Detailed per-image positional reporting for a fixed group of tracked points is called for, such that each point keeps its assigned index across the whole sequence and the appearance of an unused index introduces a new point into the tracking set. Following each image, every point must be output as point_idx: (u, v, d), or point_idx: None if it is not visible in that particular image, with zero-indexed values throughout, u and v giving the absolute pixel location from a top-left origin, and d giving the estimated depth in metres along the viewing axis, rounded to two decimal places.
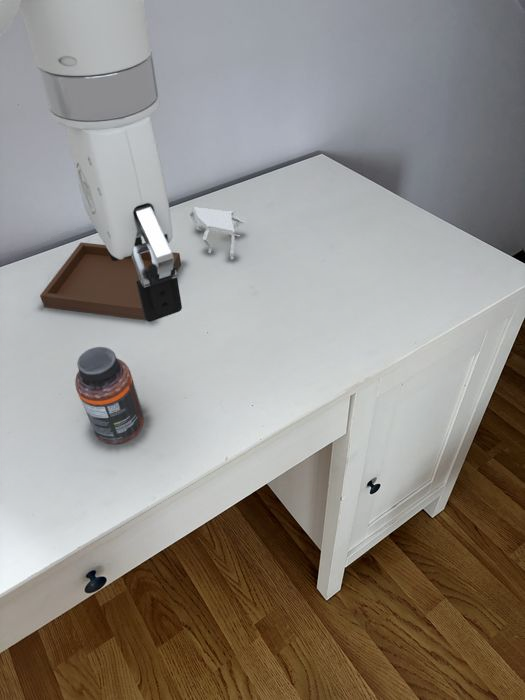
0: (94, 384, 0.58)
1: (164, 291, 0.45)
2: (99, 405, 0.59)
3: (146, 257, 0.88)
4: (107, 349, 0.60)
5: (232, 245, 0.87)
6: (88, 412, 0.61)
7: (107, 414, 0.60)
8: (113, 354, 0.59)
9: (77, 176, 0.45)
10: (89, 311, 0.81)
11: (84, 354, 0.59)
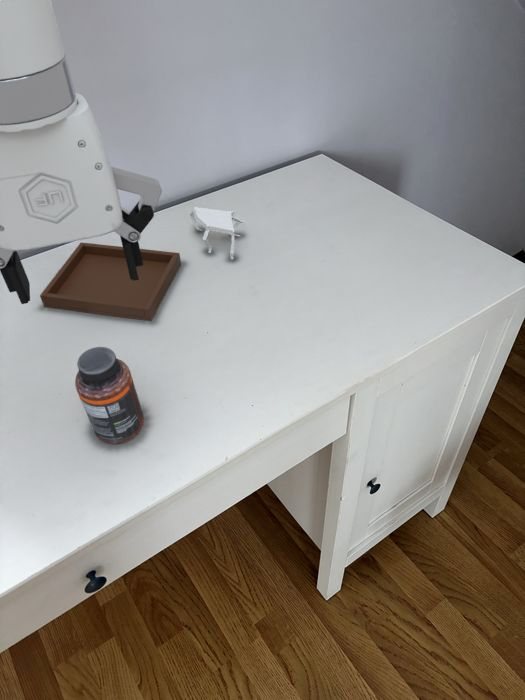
0: (94, 384, 0.58)
1: None
2: (99, 405, 0.59)
3: (146, 257, 0.88)
4: (107, 349, 0.60)
5: (232, 245, 0.87)
6: (88, 412, 0.61)
7: (107, 414, 0.60)
8: (113, 354, 0.59)
9: (3, 213, 0.42)
10: (89, 311, 0.81)
11: (84, 354, 0.59)
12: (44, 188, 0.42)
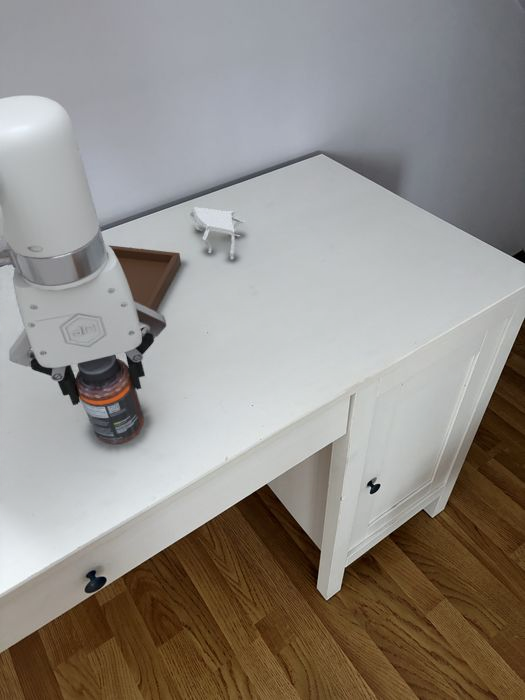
0: (94, 384, 0.58)
1: None
2: (99, 405, 0.59)
3: (146, 257, 0.88)
4: None
5: (232, 245, 0.87)
6: (88, 412, 0.61)
7: (107, 414, 0.60)
8: None
9: (46, 343, 0.52)
10: None
11: None
12: (80, 323, 0.52)
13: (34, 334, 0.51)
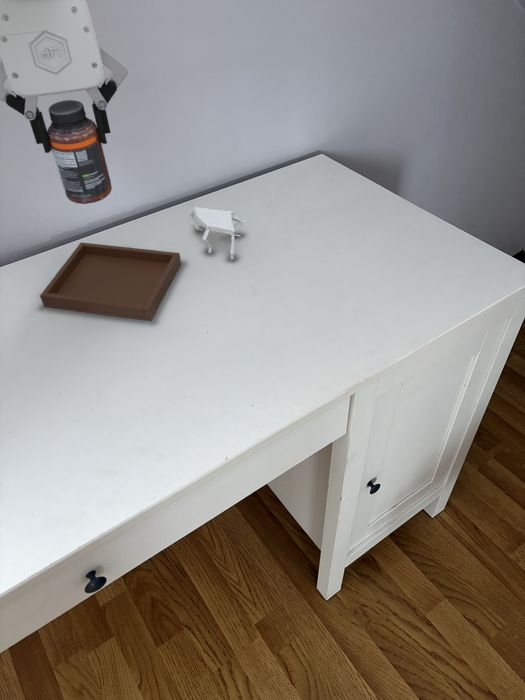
0: (63, 128, 0.65)
1: None
2: (68, 150, 0.66)
3: (146, 257, 0.88)
4: (76, 101, 0.66)
5: (232, 245, 0.87)
6: (59, 163, 0.68)
7: (76, 162, 0.67)
8: (81, 103, 0.66)
9: (17, 63, 0.59)
10: (89, 311, 0.81)
11: (55, 104, 0.66)
12: (47, 44, 0.58)
13: (6, 51, 0.58)
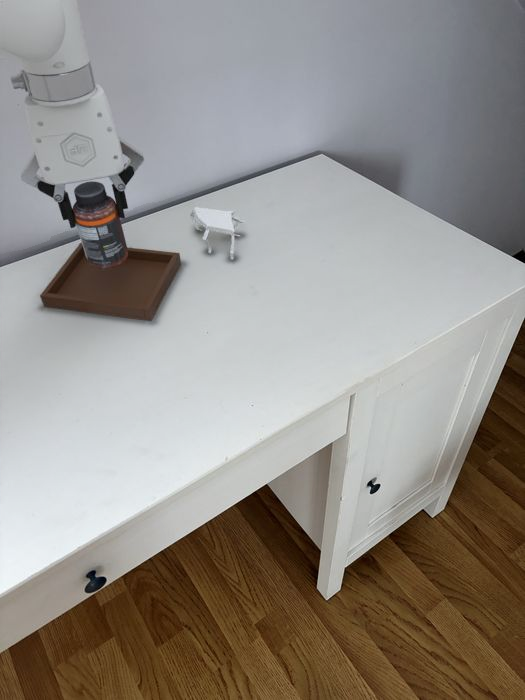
0: (87, 208, 0.74)
1: None
2: (91, 226, 0.75)
3: (146, 257, 0.88)
4: (98, 182, 0.75)
5: (232, 245, 0.87)
6: (83, 236, 0.77)
7: (98, 235, 0.76)
8: (102, 185, 0.75)
9: (49, 159, 0.68)
10: (89, 311, 0.81)
11: (79, 185, 0.75)
12: (75, 143, 0.67)
13: (40, 149, 0.67)
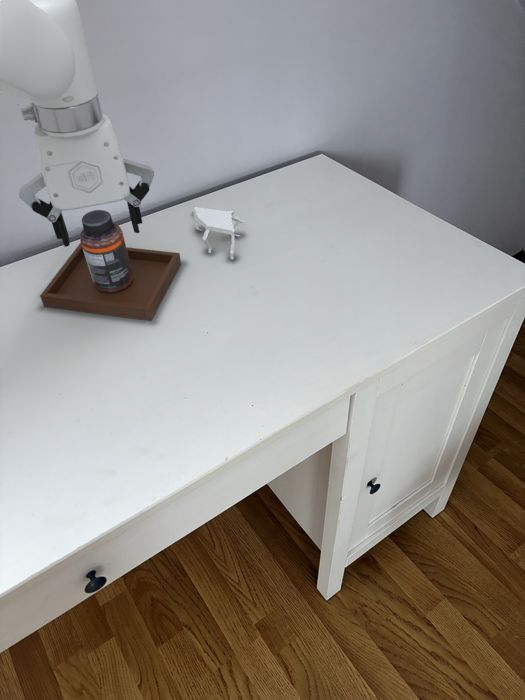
0: (94, 236, 0.77)
1: None
2: (98, 253, 0.78)
3: (146, 257, 0.88)
4: (104, 211, 0.78)
5: (232, 245, 0.87)
6: (90, 262, 0.80)
7: (104, 262, 0.79)
8: (109, 214, 0.78)
9: (58, 186, 0.70)
10: (89, 311, 0.81)
11: (87, 214, 0.78)
12: (83, 170, 0.70)
13: (49, 177, 0.69)
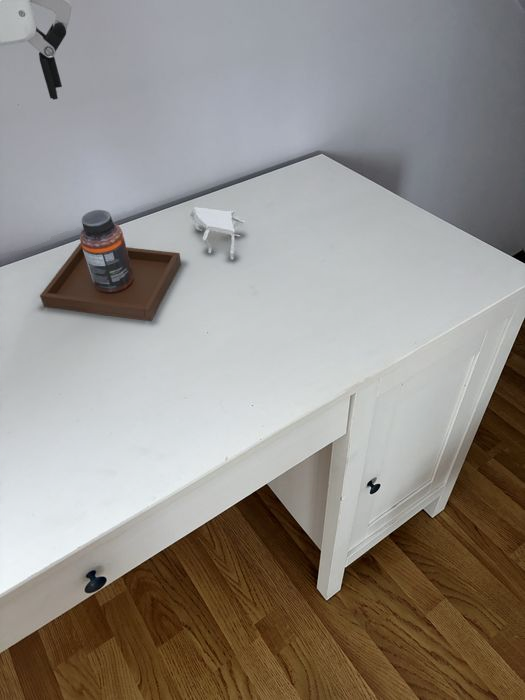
0: (94, 236, 0.77)
1: (54, 62, 0.58)
2: (98, 253, 0.78)
3: (146, 257, 0.88)
4: (104, 211, 0.78)
5: (232, 245, 0.87)
6: (90, 262, 0.80)
7: (104, 262, 0.79)
8: (109, 214, 0.78)
9: None
10: (89, 311, 0.81)
11: (87, 214, 0.78)
12: None
13: None
